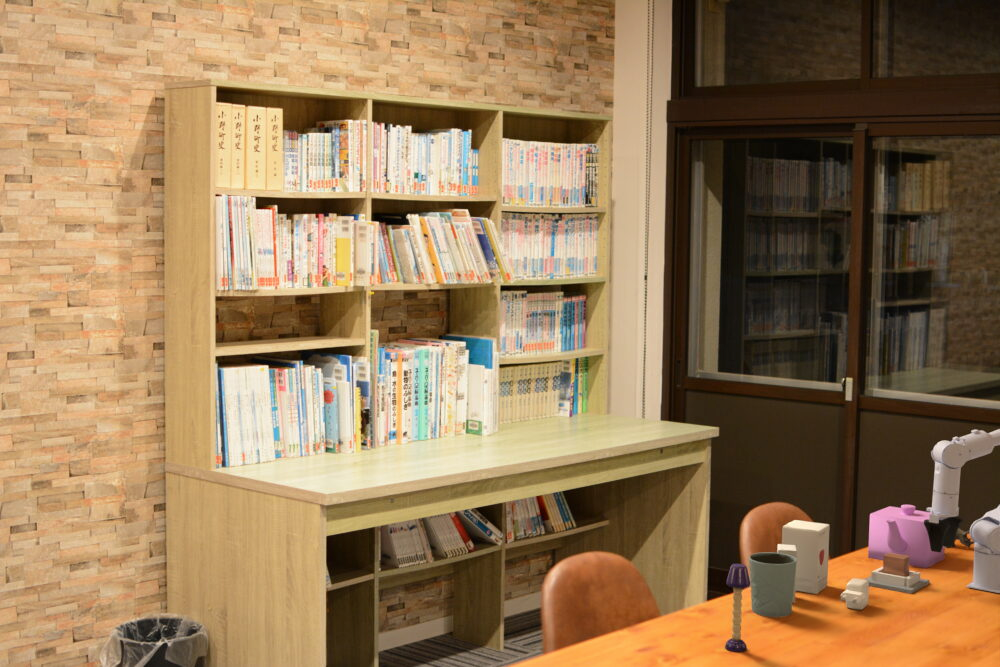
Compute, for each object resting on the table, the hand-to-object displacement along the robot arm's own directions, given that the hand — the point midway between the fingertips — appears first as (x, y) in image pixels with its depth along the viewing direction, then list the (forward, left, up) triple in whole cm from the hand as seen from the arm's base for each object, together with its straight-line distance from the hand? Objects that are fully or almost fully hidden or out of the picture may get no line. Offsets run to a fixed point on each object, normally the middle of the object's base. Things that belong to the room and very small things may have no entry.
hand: (941, 549), depth 278 cm
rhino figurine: (-43, -12, -10) cm, 46 cm away
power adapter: (+30, -8, -10) cm, 33 cm away
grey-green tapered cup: (+44, -21, -10) cm, 50 cm away
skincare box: (+33, -23, -10) cm, 42 cm away
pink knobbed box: (-22, -17, -10) cm, 29 cm away
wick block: (+4, -9, -9) cm, 13 cm away
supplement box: (+21, -24, -10) cm, 34 cm away
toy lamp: (+71, -15, -10) cm, 74 cm away
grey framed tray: (+3, -9, -9) cm, 14 cm away
